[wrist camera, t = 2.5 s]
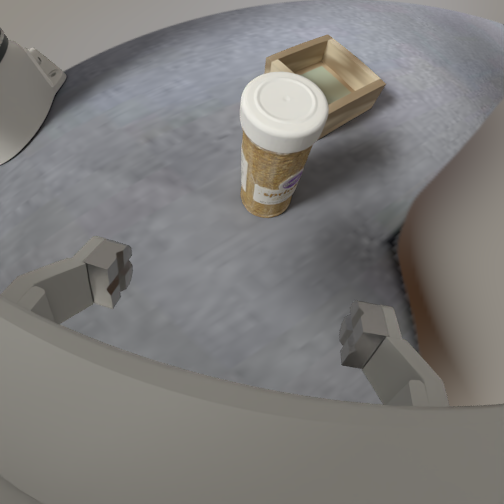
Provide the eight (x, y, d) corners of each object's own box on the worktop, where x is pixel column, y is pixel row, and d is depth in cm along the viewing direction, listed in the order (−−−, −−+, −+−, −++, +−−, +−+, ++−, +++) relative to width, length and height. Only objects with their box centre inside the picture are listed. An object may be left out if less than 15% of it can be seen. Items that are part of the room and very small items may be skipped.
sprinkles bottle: (272, 229, 26) (301, 152, 13) (229, 199, 27) (221, 104, 14) (300, 189, 27) (345, 96, 14) (259, 162, 28) (273, 57, 14)
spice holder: (263, 86, 29) (266, 57, 25) (319, 60, 31) (327, 34, 26) (317, 140, 28) (328, 114, 24) (371, 108, 30) (385, 84, 25)
